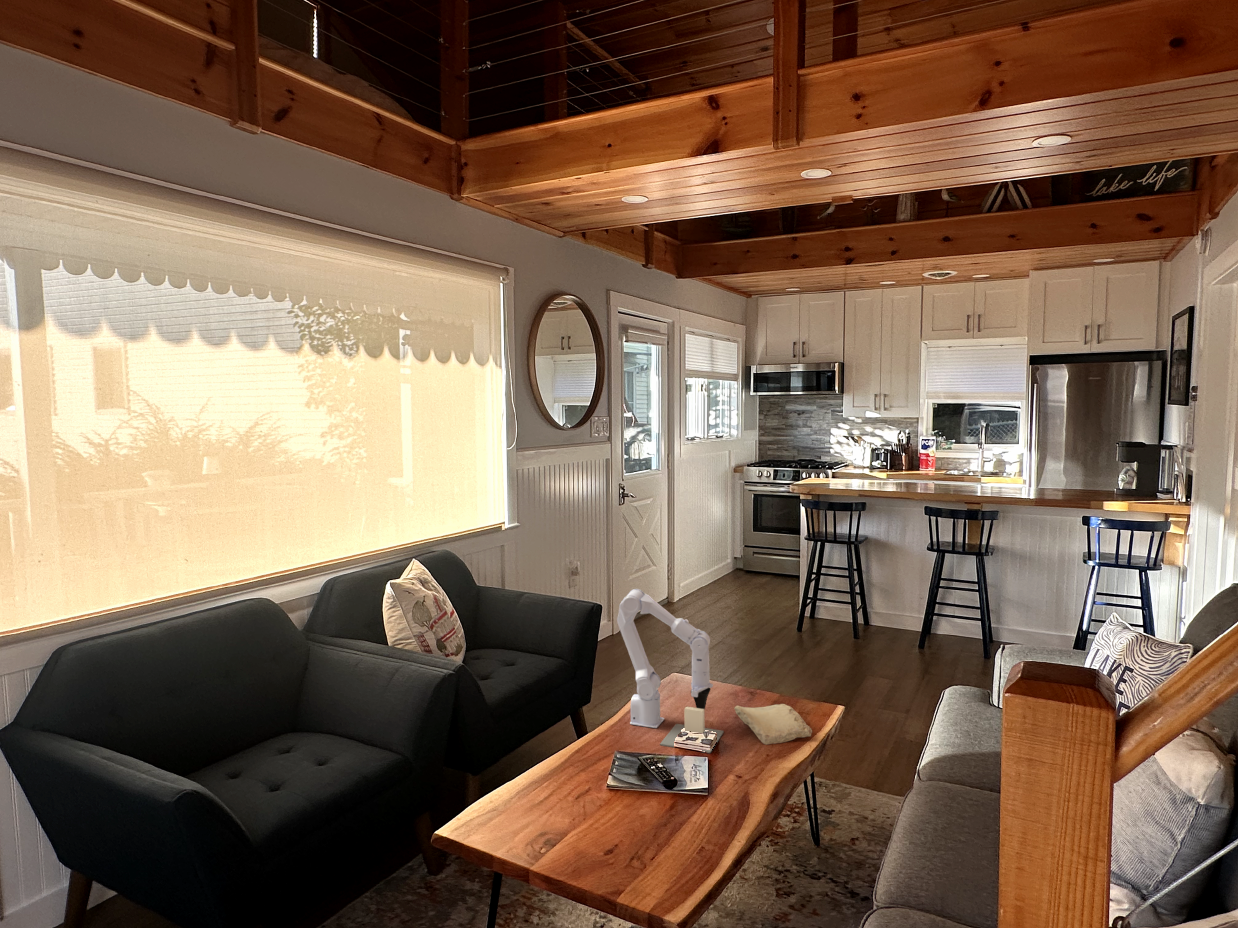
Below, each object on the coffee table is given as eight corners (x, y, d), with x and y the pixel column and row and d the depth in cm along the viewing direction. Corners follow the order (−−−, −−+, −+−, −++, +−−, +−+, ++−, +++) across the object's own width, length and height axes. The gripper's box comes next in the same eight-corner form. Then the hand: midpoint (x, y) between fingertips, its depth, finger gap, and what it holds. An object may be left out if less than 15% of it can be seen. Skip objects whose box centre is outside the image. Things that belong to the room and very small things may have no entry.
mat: (660, 745, 242) (660, 743, 242) (676, 724, 257) (676, 723, 257) (710, 753, 236) (710, 751, 236) (723, 732, 251) (723, 730, 251)
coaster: (684, 733, 249) (684, 708, 249) (686, 730, 251) (686, 706, 251) (702, 735, 247) (702, 711, 246) (704, 733, 249) (704, 708, 248)
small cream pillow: (753, 749, 240) (815, 738, 243) (750, 725, 240) (812, 714, 243) (730, 720, 264) (786, 710, 267) (728, 699, 264) (784, 689, 267)
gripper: (706, 678, 245) (706, 720, 246) (718, 664, 259) (718, 704, 260) (684, 676, 248) (685, 717, 249) (697, 661, 261) (698, 701, 262)
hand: (700, 710), depth 255 cm, fingers closed
